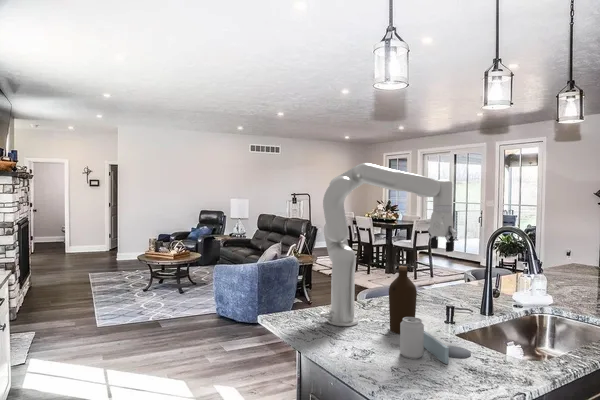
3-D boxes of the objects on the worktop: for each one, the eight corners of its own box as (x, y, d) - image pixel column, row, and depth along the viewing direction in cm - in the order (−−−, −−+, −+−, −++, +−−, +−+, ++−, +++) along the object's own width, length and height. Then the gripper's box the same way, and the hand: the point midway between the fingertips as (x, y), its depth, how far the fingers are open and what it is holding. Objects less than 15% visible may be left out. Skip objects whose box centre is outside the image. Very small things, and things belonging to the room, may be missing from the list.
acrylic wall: (444, 363, 132) (445, 347, 131) (421, 345, 147) (421, 331, 147) (448, 363, 132) (448, 347, 132) (424, 345, 147) (424, 330, 147)
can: (419, 351, 142) (419, 315, 142) (426, 359, 134) (427, 322, 134) (397, 351, 142) (397, 315, 141) (403, 359, 134) (404, 322, 134)
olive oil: (413, 336, 156) (414, 269, 156) (385, 332, 160) (386, 267, 160) (418, 328, 166) (419, 265, 165) (391, 324, 170) (392, 263, 170)
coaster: (448, 359, 135) (448, 357, 135) (433, 347, 145) (433, 346, 145) (477, 357, 137) (477, 356, 137) (460, 346, 147) (460, 345, 147)
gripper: (422, 208, 183) (421, 247, 183) (448, 210, 167) (448, 253, 167) (436, 208, 185) (435, 247, 186) (464, 210, 169) (463, 252, 169)
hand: (441, 250), depth 176 cm, fingers open, 9 cm apart
